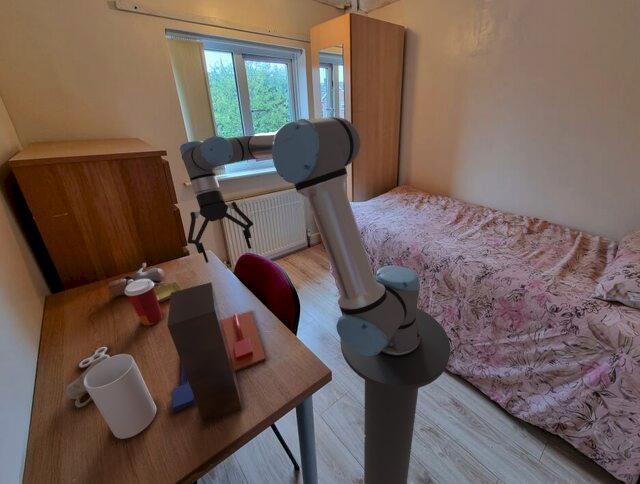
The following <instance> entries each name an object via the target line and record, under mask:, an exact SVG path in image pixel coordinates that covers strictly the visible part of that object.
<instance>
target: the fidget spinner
mask: <svg viewBox="0 0 640 484" xmlns="http://www.w3.org/2000/svg"><path fill="white" fill-rule="evenodd" d="M106 352H108V347H107V346H102V347H99V348H97V349H96V350H95V351H94V354H93V355H92V356H90V357H88V358H84V359H83V360H81V362H79V363H78V367H79V368H81V369H82V368H86V367H87V368H88V367H89V366H90V365H91V364H92V363H93V362H95V361H96V360H98V359H99V358H102V357H106V358H109V357H111V356H110V355H109V354H106ZM86 362H87V363H86Z"/></svg>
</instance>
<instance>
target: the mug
mask: <svg viewBox="0 0 640 484" xmlns="http://www.w3.org/2000/svg"><path fill="white" fill-rule="evenodd" d="M98 358H99V357H98ZM105 359H107V357H102V358H99V359H98V360H96V361H95V362H93V363H92V364H90V365H88V366H87V368H86V369H85V371H84V372H83V373H82V374H81V375H80V376H79V377H78V378H77V379H76V380H74V381H73V382H71V383H70V384H68V385H67V387H66V389H65V395H66V397H67V398H69V399H70V400H75V401H74V405H75V407H77V408H82V407H84V406H86V405H88V404H89V403H91V402H92V401H93V399H92V398H91V396H90V397H89V398H88V399H87V400H86V401H83V402H81V399H82V398H83V397H84V396H85V395H87V394H89V393H88V391H87V389H86V388H85V386H84V378H85V376H86V374H87V373H88V372H89V371H90V370H91V369H92V368H93V367H94V366H95V365H97V364H98V363H100V362H101V361H103V360H105Z"/></svg>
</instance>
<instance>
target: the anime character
mask: <svg viewBox="0 0 640 484" xmlns="http://www.w3.org/2000/svg"><path fill="white" fill-rule="evenodd" d="M146 267H147V262H143V263H142V264H141V267H140V268H139V270H138V271H136V272H135V273H134V275H132V276H131V275H126V276H125V277H124V278H119V279H118V280H113V281H110V282H109V283H108V286H107V287H108V289H109V292H110V294H111V295H112V296H114V297H120V296H124V295H126V294H125V293H124V292H125V289H126V287H127V286H128V285H129V284H130V283H132V282H134V281H136V280H140V279H150V280H151V281H152V282H154V281H155V282H154V287H162V286H165V285H167V282H163V281H162V280H163V279H164V278H165V272H164V270H163V269H162V268H158V267H156V266H155V267H153V268H151V269H149V270H146V271H144V269H146ZM156 281H157V282H156Z"/></svg>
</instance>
